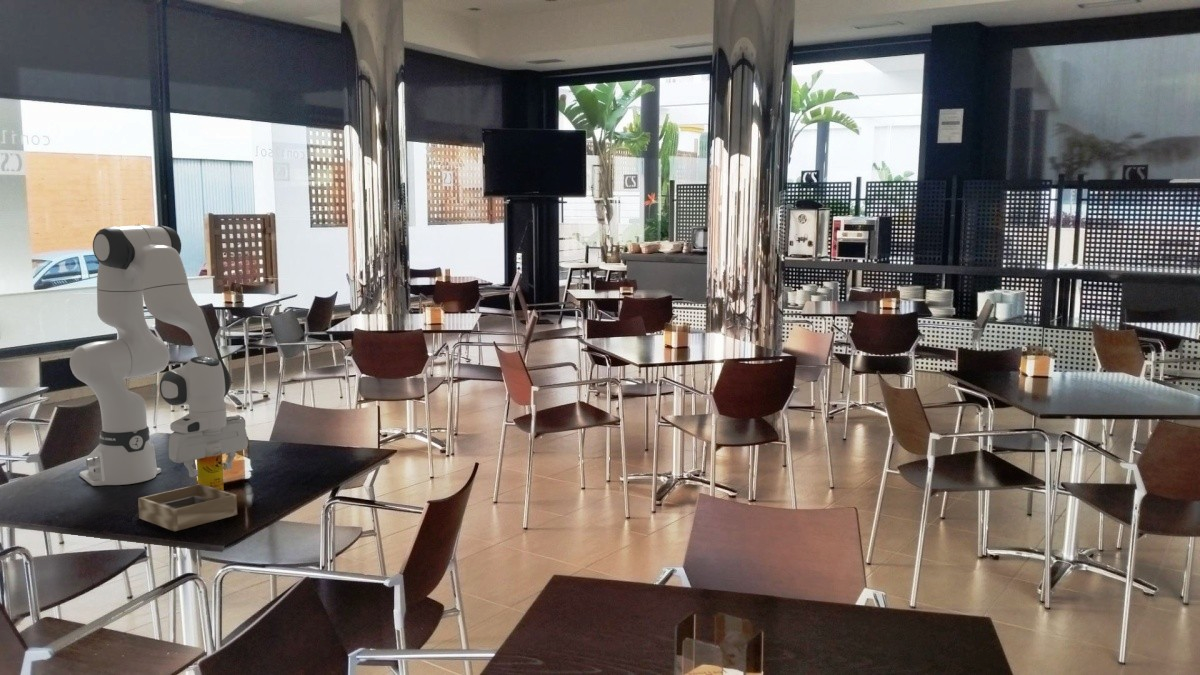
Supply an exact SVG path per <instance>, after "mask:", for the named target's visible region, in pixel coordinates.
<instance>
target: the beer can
mask: <svg viewBox="0 0 1200 675" xmlns="http://www.w3.org/2000/svg"><path fill="white" fill-rule="evenodd" d="M205 454H206V455H205V458H201V459H196V470H198V473H197V474H198V476H197V484H203V485H206V486H209V487H213V488H216V489H219V490H222V491H225V490H224V489H225V488H224V486H225V485H224V469H223V463H224V462H223V454H222V445H221V444H220V442H216V443H208V444H207V445H206V447H205Z"/></svg>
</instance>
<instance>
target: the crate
mask: <svg viewBox="0 0 1200 675" xmlns="http://www.w3.org/2000/svg"><path fill="white" fill-rule="evenodd" d="M237 497H238V495H237V494H235V493H232V492H229V491H225V490H224V491H222V490H219V489H216V488H213V487H209V486H206V485H203V484H198V483H197V484H194V485H188V486H185V487H181V488H176V489H172V490H167V491H163V492H159V493H154V494H149V495H146V496H141V497H138V498H137V501H138V505H137V506H138V518H139V520H140V519H141V520H143V521H146V522H148V523H150V524H154V525H156V526H159V527H161V528H164V529H166V530H169V531H173V532H177V531H181V530H185V529H190V528H193V527H196V526H199V525H204V524H207V523H212V522H215V521H218V520H223V519H226V518H231V517H234V516H237V515H238V500H237Z"/></svg>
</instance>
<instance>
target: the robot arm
mask: <svg viewBox="0 0 1200 675" xmlns="http://www.w3.org/2000/svg"><path fill="white" fill-rule="evenodd" d="M92 251H93V255H94V257H95V258H96V259H97V261H98V269H97V277H96V278H97V279H96V302H97V304H96V305H97V306H96V309H97V310H96V312H97V316H98V318H99V319H100V321H101V322H102V323H104V324H106V325H108V326H110V327H112V328H114V329H116V331H117V336H118V339H117V338H116V339H110V340H100V341H99V340H98V341H93V342H89V343H85V344H82V345H78V346H77V347H75V348H74V349H73V351H72V353H71V355H70V358H69V366H70V370H71V372H72V375H73V376H74V377H75V378H76V379H77V380H78V381H80V382H82V383H84V384H85V385H87V387H89V389H91V390H92V392H93V393H94V394H95V396H96V398H97V401H98V404H99V407H100V415H101V416H100V417H101V427H102V429H101V430H98V432H99V434H98V435H99V442H98V443H99V444H98V445H97V446H96V447H95V449H93V451H91V452H90V453H89V454H88V458H86V459H85V465H86V467H87V468H88V469H85V470H81V471H80V472H79V477H80V478H82V479H83V480H85V481H86V482H87V483H88V484H90V485H91V486H93V487H96V486H98V487H99V486H121V485H131V484H133V485H134V484H138V483H143V482H146V481H150V480H152V479H155V477H157V475H158V474H160V473H162V468H160V467H158V466H157V461H156V460H157V459H156V452H155V446H154V444H153V443H152V442H150V441H149V440H150V428H149V426H148V422H147V417H148V416H147V403H146V400H145V399H144V398H143V396H141V394H139V393H137V392H134V391H131V390H128V388H127V386H126V383H125V381H126V379H127V380H128V379H134V378H142V377H143V378H144V377H149V376H151V375H154V374H157V373H158V374H159V373H160V372H163V371H164V370H166V368H167V366H168V364H169V362H170V350H169V348H168V346H167V344H166V343H165V342H164V341H163V340H162V339H160V338H159V337H157V335H155V334H154V333H153V332H152V331H151V328H150V327H149V325H148V324H147V321H146V317H145V309H144V304H145V307H146V309H147V312H148V313H149V314H150V315H151V316H152V317H153V318H155V319H157V320H159V321H161V322H162V323H166V324H169V325H173V326H176V327H178V328H180V329H182V330H184V331H185V332H187V334H188V335H189V337H190V339H191V340H192V344H193V347H194V349H195V352H196V356H194V357H192V358H190V359H188V360H187V363H186V364H184V365H182V366H179V367H176V368H174V369H171V370H168V371H166V372H165V373H164V374H163V375H162V377H161V379H160V383H159V392H160V395H161V397H162V399H163V401H165V403H167V404H169V405H170V406H176V407H177V406H178V407H179V406H180V407H181V406H186V405H188V414H186V415H184V416H182V417H180V418H178V419H177V420H174V421H173V422H171V423H170V425H169V426H170V427H169V429H170V431H171V432H172V433H171V434H170V436H169V438H168V457H169V459H170V461H171V462H173V463H175V464H176V463H177V464H181V463H182V464H183V465H184V466H185V468H186V469H187V470H188V476H189V478H196V477H197V478H198V474H197V473H198V470H197V469H195V468H194V467H193V465H194V461H195V460H196V461H197V459H201V458H205V455H206V454H205V447H206V445H207V444H208V443H216V442H220V444H221V445H222V455H224V454H225V455H226V456H227V457H226V460H225V461H224V462H223V471H228V470H232V468H233V464H232V463H233V462H234V460H235V458H236V452H239V451H244V450H247V447H248V445H249V440H248V434H247V430H246V425H247V424H246V419H245V417H244V416H241V415H238V414H237V415H233V416H232V415H231V416H227V404H226V402H225V397H226V396H227V395H228V394H229V391H230V390H231V387H232V377H231V374H230V372H229V370H228V368H227V367H226V365H225V362H224V360H223V358H222V355H221V353H220V352H221V351H220V349H219V345H218V342H217V340H216V338H215V335H214V334H215V333H214V331H213V328H212V325H211V322H210V320H209V318H208V315H207V313H206V312H205V310H204V308H203V307H202V306H200V305H198V303H197V302H196V300H195V298H194V297H193V295H192V293H191V290H190V286H189V281H188V276H187V273H186V269H185V266H184V263H183V260H182V258H181V252H182V241H181V238H180V236H179V234H178V232H177V231H176V230H175V229H174V228H172V227H169V226H164V225H150V224H135V225H124V226H123V225H122V226H113V225H112V226H109V227H105V228H101V229H99V230H98V231H97V232H96V233H95V236H94V238H93V241H92Z"/></svg>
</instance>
